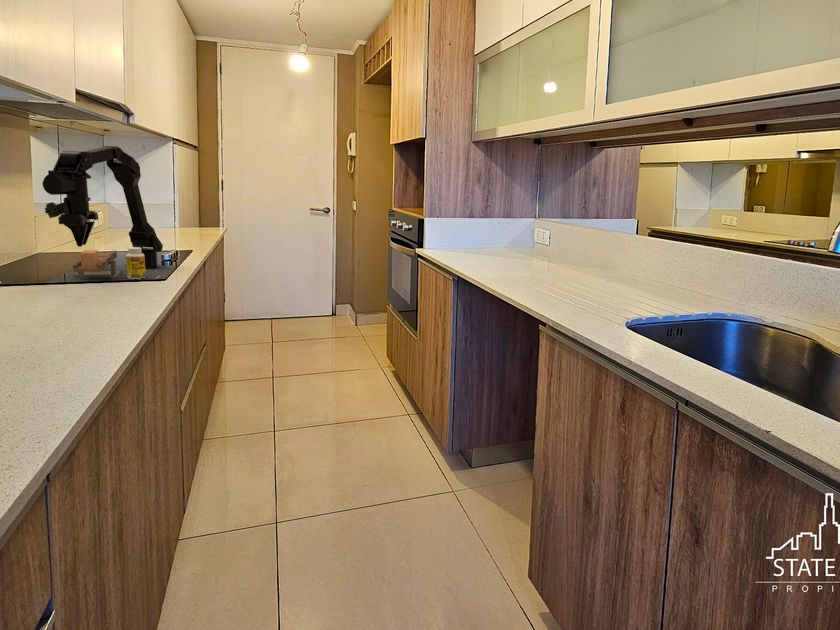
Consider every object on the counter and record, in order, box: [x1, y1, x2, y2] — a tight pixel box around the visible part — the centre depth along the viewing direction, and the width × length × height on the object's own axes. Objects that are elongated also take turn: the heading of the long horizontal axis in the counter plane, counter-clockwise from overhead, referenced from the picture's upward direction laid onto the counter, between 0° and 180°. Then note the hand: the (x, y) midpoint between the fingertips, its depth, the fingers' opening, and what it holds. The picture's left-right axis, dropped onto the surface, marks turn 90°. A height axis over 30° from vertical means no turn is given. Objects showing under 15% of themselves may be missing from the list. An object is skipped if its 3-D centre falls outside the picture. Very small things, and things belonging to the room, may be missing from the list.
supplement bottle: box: [125, 246, 147, 280], centre depth 195 cm, size 6×6×10 cm
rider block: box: [79, 249, 100, 267], centre depth 189 cm, size 5×4×4 cm
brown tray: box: [72, 250, 118, 273], centre depth 196 cm, size 22×8×2 cm, turn 15°
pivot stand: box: [73, 259, 121, 279], centre depth 197 cm, size 8×12×5 cm, turn 105°
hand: (81, 245), depth 181 cm, fingers open, 4 cm apart
